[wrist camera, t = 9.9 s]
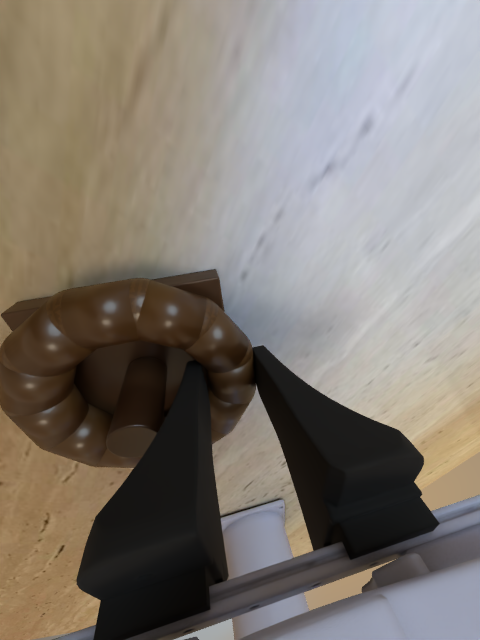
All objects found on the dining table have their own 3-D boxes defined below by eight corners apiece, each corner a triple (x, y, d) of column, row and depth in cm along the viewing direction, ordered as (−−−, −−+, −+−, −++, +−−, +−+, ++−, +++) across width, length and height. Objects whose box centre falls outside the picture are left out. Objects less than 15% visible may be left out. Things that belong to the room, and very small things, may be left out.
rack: (235, 392, 16) (254, 470, 12) (100, 424, 15) (66, 523, 11) (215, 268, 12) (236, 321, 7) (16, 301, 10) (-105, 389, 6)
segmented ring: (254, 412, 16) (264, 446, 14) (86, 453, 15) (70, 497, 12) (238, 253, 10) (252, 272, 8) (-42, 298, 9) (-109, 333, 7)
